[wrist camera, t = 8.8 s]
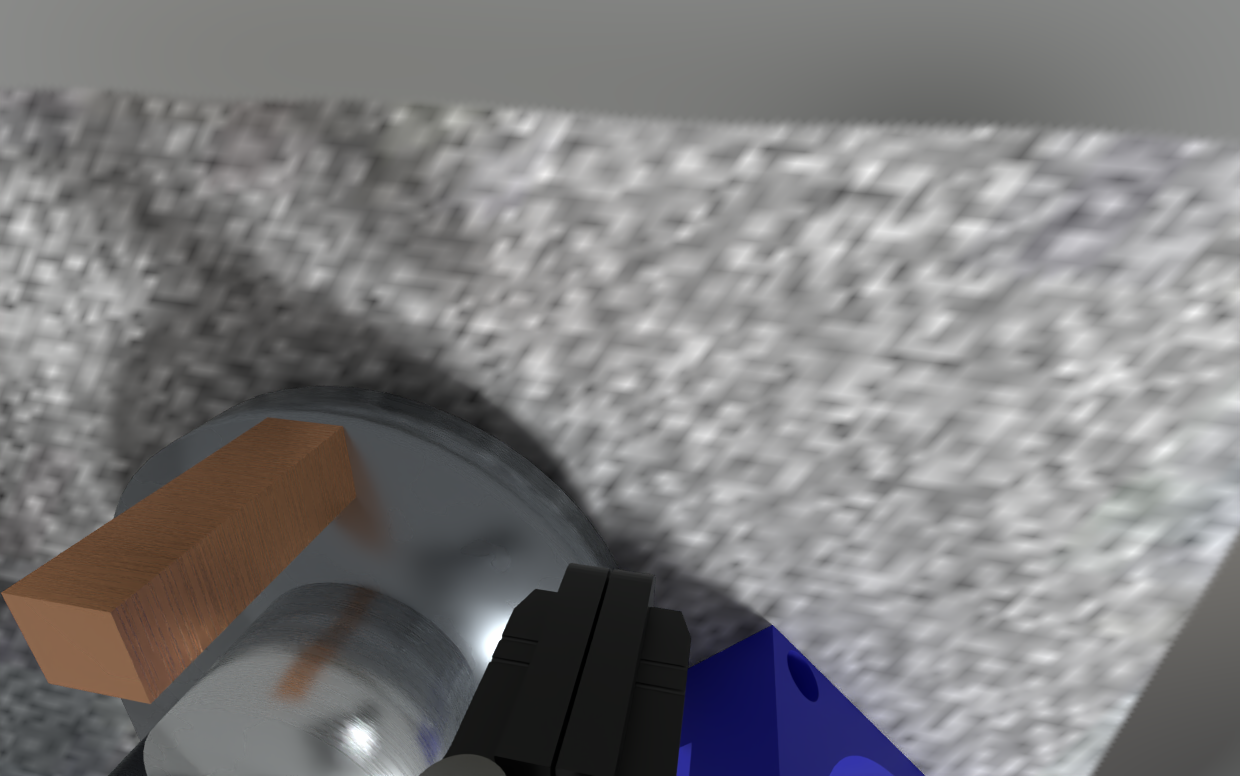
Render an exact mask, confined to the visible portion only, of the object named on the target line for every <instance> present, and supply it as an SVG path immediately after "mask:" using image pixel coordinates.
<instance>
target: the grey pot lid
mask: <svg viewBox="0 0 1240 776" xmlns="http://www.w3.org/2000/svg"><path fill="white" fill-rule="evenodd" d="M570 563H576V564H583V565H589V566H596V567H602V568H609V569H611V570H612V571H613V570H614V569H617V570H619V568H618V567H617V565H616V563H615V561H614V559H613V557H612V556H611V554H610V552H609V550H608V548H607V546H606V545H605V543H604V541H603V540H602V538H601V537H600V535H599V534H598V533H597V531H596V530H595V529H594V527H593V526H592V524H591V523H590V522H589V520H588V519H587V518H586V516H585V515H584V513H583V512H582V511H581V510H580V509H579V508H578V507H577V506H576V505H575V504H574V502H573V501H572V500H571V499H570V498H569V497H568V496H567V495H566V494H565V493H564V492H563V491H562V489H561V488H560V487H559V486H558V485H557V484H555V483H554V482H553V481H552V480H551V479H550V478H549V477H547V476H546V475H545V474H544V473H543V472H542V471H541V470H539V469H538V468H537V467H536V466H535V465H534V464H532V463H531V462H530V461H529V460H527V459H526V458H525V457H523V456H522V455H520V454H519V453H517V452H516V451H515V450H513V449H512V448H510V447H509V446H507V445H506V444H504V443H503V442H502V441H500V440H499V439H497V438H496V437H494V436H492V435H490V434H488V433H486V432H485V431H483V430H481V429H479V428H477V427H475V426H474V425H472V424H470V423H468V422H466V421H464V420H463V419H460V418H458V417H456V416H453V415H451V414H448V413H446V412H444V411H441V410H439V409H436V408H434V407H432V406H429V405H427V404H424V403H420V402H417V401H413V400H410V399H407V398H403V397H400V396H396V395H393V394H389V393H384V392H378V391H372V390H366V389H360V388H354V387H333V386H312V387H301V388H291V389H284V390H280V391H276V392H272V393H268V394H264V395H260V396H256V397H254V398H252V399H250V400H247V401H245V402H243V403H241V404H238V405H236V406H234V407H232V408H230V409H228V410H226V411H225V412H223V413H221V414H220V415H218V416H216V417H215V418H213V419H211V420H209V421H208V422H206V423H204V424H203V425H201V426H199V427H198V428H196V429H194V430H193V431H191V432H189V433H188V434H186V435H184V436H182V437H181V438H179V439H177V440H176V441H174V442H172V443H171V444H170V445H168V446H167V447H165V448H164V449H162V450H161V451H159V452H158V453H157V454H155V455H154V456H152V457H151V458H150V459H149V460H148V461H147V462H146V463H145V464H144V465H143V466H142V467H141V468H140V469H139V470H138V472H137V473H136V474H135V475H134V476H133V477H132V479H131V481H130V482H129V484H128V486H127V487H126V489H125V491H124V492H123V494H122V496H121V497H120V500H119V503H118V506H117V509H116V512H115V515H114V518H113V519H112V520H111V521H109V522H108V523H106V524H105V525H103V526H102V527H100V528H99V529H97V530H96V531H94V532H93V533H91V534H90V535H88V536H87V537H85V538H84V539H82V540H81V541H79V542H78V543H76V544H74V545H73V546H71V547H70V548H68V549H67V550H65V551H64V552H62V553H61V554H59V555H58V556H56V557H55V558H53V559H52V560H50V561H49V562H47V563H46V564H44V565H43V566H41V567H40V568H38V569H37V570H35V571H33V572H32V573H30V574H29V575H27V576H26V577H24V578H23V579H21V580H20V581H18V582H17V583H15V584H14V585H12V586H11V587H9V588H8V589H6V590H5V591H3V592H2V593H1V594H2V596H3V598H4V600H5V601H6V603H7V605H8V607H9V609H10V611H11V613H12V615H13V617H14V619H15V620H16V622H17V624H18V626H19V628H20V630H21V632H22V634H23V636H24V637H25V639H26V641H27V643H28V645H29V647H30V649H31V651H32V653H33V655H34V656H35V658H36V660H37V662H38V664H39V666H40V668H41V670H42V672H43V674H44V675H45V677H46V679H47V681H48V683H50V684H54V685H59V686H64V687H69V688H74V689H79V690H84V691H89V692H94V693H98V694H103V695H108V696H113V697H118V698H123V699H128V700H133V701H138V702H143V703H147V704H151V703H152V702H153V701H154V700H155V699H156V698H157V697H158V696H159V695H160V694H161V693H162V692H163V691H164V690H165V689H166V688H167V687H168V689H169V690H170V691H171V692H172V693H173V694H174V696H175V697H176V698H177V699H178V700H180V699H181V698H182V697H183V696H184V695H185V694H186V693H187V692H188V691H189V690H190V689H191V688H192V686H193V685H194V684H195V683H196V682H197V681H198V680H199V679H200V678H201V677H202V676H203V675H204V674H205V673H206V672H207V671H208V670H209V669H210V667H211V666H212V665H213V664H214V663H215V662H216V661H217V660H218V659H219V658H220V657H221V656H222V655H223V654H224V653H225V652H226V651H227V650H228V649H229V647H230V646H231V645H232V644H233V643H234V642H235V641H236V640H237V639H238V638H239V637H240V636H241V635H242V634H243V633H244V632H245V631H246V630H247V629H248V627H249V626H250V625H251V624H252V623H253V622H254V621H255V620H256V619H257V618H258V617H259V616H260V615H261V614H262V613H263V612H264V611H265V610H266V608H267V607H268V606H269V605H270V604H271V603H272V602H273V601H274V600H275V599H276V598H278V597H279V596H280V595H282V594H283V593H285V592H287V591H289V590H291V589H293V588H296V587H299V586H303V585H307V584H314V583H342V584H349V585H354V586H359V587H364V588H367V589H370V590H373V591H377V592H379V593H382V594H384V595H387V596H389V597H392V598H394V599H396V600H398V601H400V602H402V603H404V604H405V605H407V606H409V607H411V608H412V609H414V610H415V611H417V612H419V613H420V614H422V615H423V616H425V617H426V618H427V619H428V620H430V621H431V622H432V623H434V624H435V625H436V626H437V627H438V628H439V629H440V630H442V631H443V632H444V633H445V634H446V635H447V636H448V637H449V638H450V639H451V641H452V642H453V643H454V644H455V645H456V646H457V647H458V649H459V650H460V652H461V653H462V655H463V656H464V657H465V659H466V660H467V662H468V664H469V666H470V668H471V670H472V672H473V674H474V677H475V680H476V682H477V686H478V685H479V683H480V681H481V679H482V677H483V674H484V672H485V670H486V668H487V666H488V664H489V662H491V659H492V655H493V653H494V651H495V648H496V646H497V644H498V642H499V640H501V638H502V633H503V631H504V629H505V627H506V624H507V622H508V620H509V618H510V616H511V614H512V611H513V609H514V608H515V607H516V606H517V605H518V604H519V603H521V602H522V601H523V600H524V599H525V598H526V597H527V596H528V595H529V594H530V593H531V592H532V591H533V590H534V589H541V590H547V591H553V592H558V589H559V587H560V584H561V582H562V579H563V576H564V574H565V571H566V569H567V567H568V565H569V564H570Z"/></svg>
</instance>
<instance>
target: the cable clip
mask: <svg viewBox="0 0 1240 776" xmlns="http://www.w3.org/2000/svg"><path fill="white" fill-rule="evenodd" d="M677 776H925V775H924V774H923V773H922V772H921V771H920V770H919V769H918V768H917V767H916V766H915V765H914V764H913V763H912V762H911V761H910V760H909V759H908V758H907V757H906V756H905V755H904V754H903V753H902V752H901V751H899V750H898V749H897V748H896V747H895V746H894V745H893V744H892V743H891V742H890V741H889V740H888V739H887V738H886V737H885V736H884V735H883V734H882V733H881V732H880V731H879V730H878V729H877V728H876V727H875V726H874V725H873V724H872V723H871V722H870V721H869V720H868V719H867V718H866V717H865V716H864V715H863V714H862V713H861V712H860V711H859V710H858V709H857V708H856V707H855V706H854V705H853V704H852V703H851V702H850V701H849V700H848V699H847V698H846V697H845V696H844V695H843V694H842V693H841V692H840V691H839V690H838V689H837V688H836V687H835V686H834V685H833V684H832V683H831V682H830V681H829V680H828V679H827V678H826V677H825V676H824V675H823V674H822V673H821V672H820V671H819V670H818V669H817V668H816V667H815V666H814V665H813V664H812V663H811V662H810V661H809V660H808V659H807V658H806V657H805V656H804V655H803V654H802V653H801V652H800V651H799V650H798V649H797V648H796V647H794V646H793V645H792V644H791V643H790V642H789V641H788V640H787V639H786V638H785V637H784V636H783V635H782V634H781V633H780V632H779V631H778V630H777V629H776V628H775V627H774V626H773V625H771V626H769V627H767V628H765V629H763V630H761V631H760V632H758V633H756V634H754V635H752V636H750V637H748V638H746V639H744V640H742V641H740V642H738V643H736V644H735V645H733V646H731V647H729V648H727V649H725V650H723V651H721V652H719V653H717V654H715V655H713V656H711V657H710V658H708V659H706V660H704V661H702V662H700V663H698V664H696V665H694V666H692V667H690V668H688V672H687V682H686V692H685V701H684V711H683V720H682V730H681V739H680V748H679V758H678V767H677Z"/></svg>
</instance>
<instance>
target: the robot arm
mask: <svg viewBox="0 0 1240 776" xmlns="http://www.w3.org/2000/svg"><path fill="white" fill-rule="evenodd" d="M654 591H655V575H650V574H643V573H637V572H630V571H624V570H617V569H614V570H613V571H612V570H611V569H609V568H602V567H596V566H589V565H583V564H576V563H570V564H569V565H568V567H567V569H566V571H565V574H564V576H563V579H562V582H561V584H560V587H559V589H558V592H553V591H547V590H541V589H534V590H533V591H532V592H531V593H530V594H529V595H528V596H527V597H526V598H525V599H524V600H523V601H522V602H521V603H519V604H518V605H517V606H516V607H515V608H514V609H513V611H512V614H511V616H510V618H509V620H508V622H507V624H506V627H505V629H504V631H503V633H502V638H501V640H499V642H498V644H497V646H496V648H495V651H494V653H493V655H492V659H491V662H489V664H488V666H487V668H486V670H485V672H484V674H483V677H482V679H481V681H480V683H479V685H478V687H477V690H476V692H475V694H474V696H473V698H472V700H471V703H470V705H469V707H468V709H467V711H466V714H465V716H464V718H463V720H462V722H461V724H460V727H459V729H458V731H457V733H456V735H455V737H454V740H453V742H452V744H451V746H450V748H449V749H448V751H447V753H446V755H445V756H444V757H443V759H442V760H440V761H438V762H436V763H434V764H433V765H431V766H430V767H428V768H427V769H426V770H424V771H423V772H422V773H421V774H420V775H419V776H677V767H678V758H679V748H680V739H681V730H682V720H683V711H684V701H685V692H686V682H687V672H688V663H689V653H690V643H691V637H690V634H689V631H688V629H687V626H686V623H685V621H684V618H683V615H682V613H681V612H680V611H674V610H668V609H661V608H655V607H653V606H654Z"/></svg>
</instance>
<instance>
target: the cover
mask: <svg viewBox="0 0 1240 776" xmlns="http://www.w3.org/2000/svg"><path fill="white" fill-rule="evenodd" d="M477 687H478V686H477V682H476V680H475V677H474V674H473V672H472V670H471V668H470V666H469V664H468V662H467V660H466V659H465V657H464V656H463V655H462V653H461V652H460V650H459V649H458V647H457V646H456V645H455V644H454V643H453V642H452V641H451V639H450V638H449V637H448V636H447V635H446V634H445V633H444V632H443V631H442V630H440V629H439V628H438V627H437V626H436V625H435V624H434V623H432V622H431V621H430V620H428V619H427V618H426V617H425V616H423V615H422V614H420V613H419V612H417V611H415V610H414V609H412V608H411V607H409V606H407V605H405V604H404V603H402V602H400V601H398V600H396V599H394V598H392V597H389V596H387V595H384V594H382V593H379V592H377V591H373V590H370V589H367V588H364V587H359V586H354V585H349V584H342V583H314V584H307V585H303V586H299V587H296V588H293V589H291V590H289V591H287V592H285V593H283V594H282V595H280V596H279V597H278V598H276V599H275V600H274V601H273V602H272V603H271V604H270V605H269V606H268V607H267V608H266V610H265V611H264V612H263V613H262V614H261V615H260V616H259V617H258V618H257V619H256V620H255V621H254V622H253V623H252V624H251V625H250V626H249V627H248V629H247V630H246V631H245V632H244V633H243V634H242V635H241V636H240V637H239V638H238V639H237V640H236V641H235V642H234V643H233V644H232V645H231V646H230V647H229V649H228V650H227V651H226V652H225V653H224V654H223V655H222V656H221V657H220V658H219V659H218V660H217V661H216V662H215V663H214V664H213V665H212V666H211V667H210V669H209V670H208V671H207V672H206V673H205V674H204V675H203V676H202V677H201V678H200V679H199V680H198V681H197V682H196V683H195V684H194V685H193V686H192V688H191V689H190V690H189V691H188V692H187V693H186V694H185V695H184V696H183V697H182V698H181V699H180V700H179V701H178V702H177V703H176V704H175V705H174V706H173V708H172V709H171V710H170V711H169V712H168V713H167V714H166V715H165V716H164V717H163V718H162V719H161V720H160V721H159V722H158V723H157V724H156V726H155V727H154V728H153V729H152V730H151V731H150V733H149V735H148V737H147V739H146V741H145V746H144V751H143V753H144V765H145V769H146V773H147V776H419V775H420V774H421V773H422V772H423V771H424V770H426V769H427V768H428V767H430V766H431V765H433V764H434V763H436V762H438V761H440V760H442V759H443V757H444V756H445V755H446V753H447V751H448V749H449V748H450V746H451V744H452V742H453V740H454V737H455V735H456V733H457V731H458V729H459V727H460V724H461V722H462V720H463V718H464V716H465V714H466V711H467V709H468V707H469V705H470V703H471V700H472V698H473V696H474V694H475V692H476V690H477Z"/></svg>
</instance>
